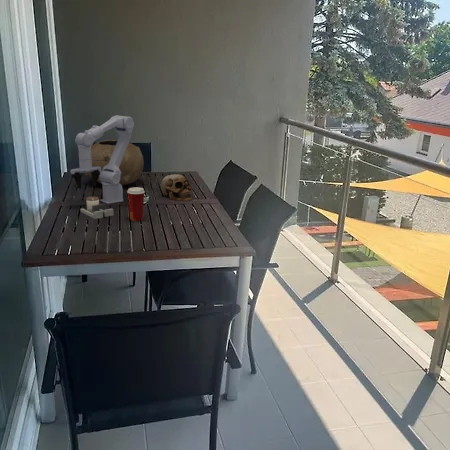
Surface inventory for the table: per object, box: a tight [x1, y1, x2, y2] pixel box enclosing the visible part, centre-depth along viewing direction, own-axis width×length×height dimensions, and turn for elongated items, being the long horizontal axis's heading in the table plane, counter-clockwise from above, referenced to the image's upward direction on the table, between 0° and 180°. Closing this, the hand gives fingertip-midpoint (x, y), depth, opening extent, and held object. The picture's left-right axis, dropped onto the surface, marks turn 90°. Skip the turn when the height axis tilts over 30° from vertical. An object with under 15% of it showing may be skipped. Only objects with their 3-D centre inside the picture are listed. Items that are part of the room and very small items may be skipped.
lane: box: [80, 208, 114, 220], centre depth 209 cm, size 9×14×3 cm
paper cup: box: [126, 187, 146, 222], centre depth 202 cm, size 8×8×14 cm
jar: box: [86, 196, 100, 213], centre depth 209 cm, size 6×6×7 cm
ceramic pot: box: [84, 139, 145, 187], centre depth 263 cm, size 33×34×25 cm
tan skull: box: [160, 173, 193, 202], centre depth 242 cm, size 16×17×13 cm
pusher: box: [92, 202, 108, 215], centre depth 205 cm, size 6×7×5 cm
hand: (86, 187), depth 216 cm, fingers open, 7 cm apart
